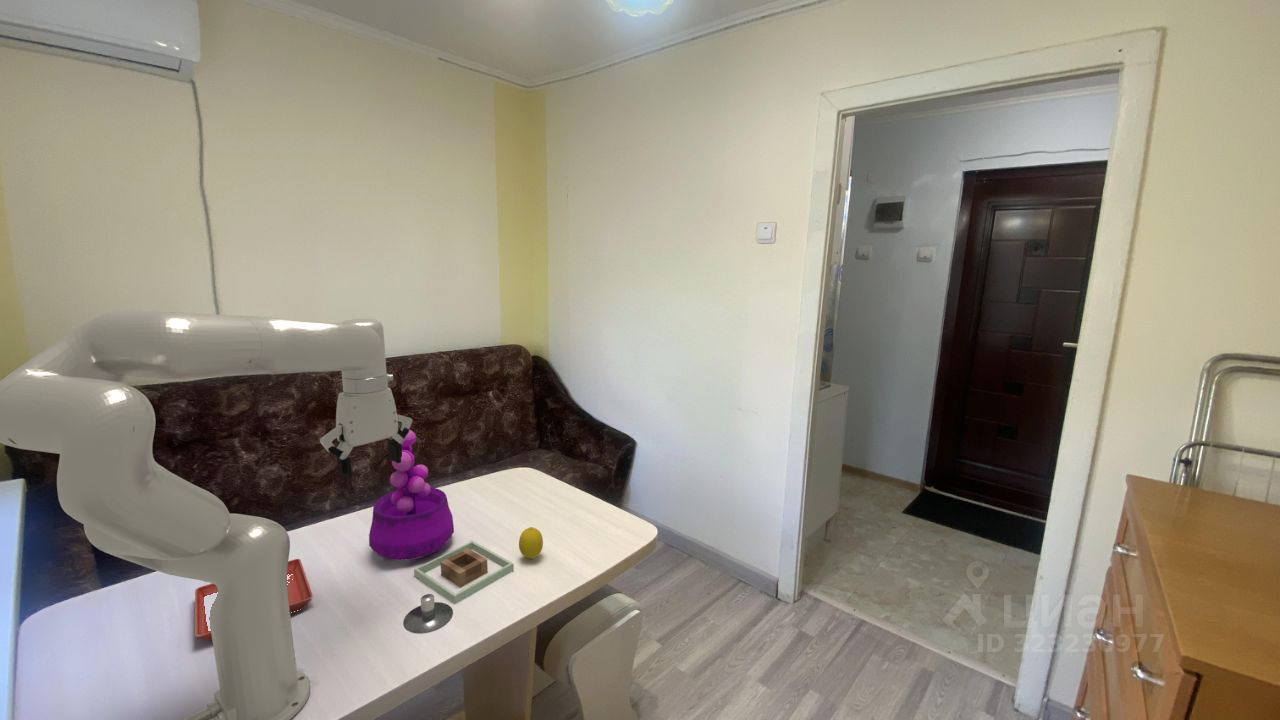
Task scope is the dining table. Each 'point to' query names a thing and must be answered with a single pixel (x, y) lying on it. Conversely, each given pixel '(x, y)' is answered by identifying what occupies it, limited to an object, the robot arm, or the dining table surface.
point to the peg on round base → (428, 616)
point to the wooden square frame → (464, 567)
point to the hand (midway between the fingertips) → (371, 468)
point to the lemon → (530, 542)
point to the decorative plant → (410, 513)
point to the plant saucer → (296, 591)
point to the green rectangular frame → (473, 588)
